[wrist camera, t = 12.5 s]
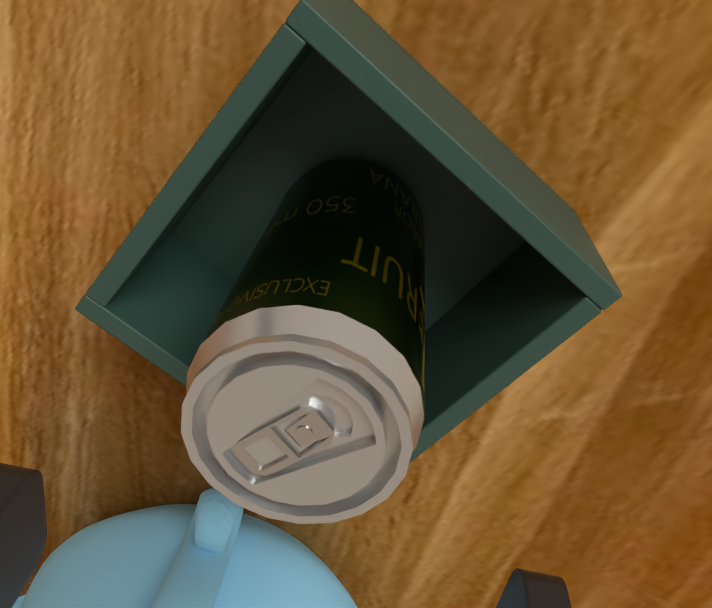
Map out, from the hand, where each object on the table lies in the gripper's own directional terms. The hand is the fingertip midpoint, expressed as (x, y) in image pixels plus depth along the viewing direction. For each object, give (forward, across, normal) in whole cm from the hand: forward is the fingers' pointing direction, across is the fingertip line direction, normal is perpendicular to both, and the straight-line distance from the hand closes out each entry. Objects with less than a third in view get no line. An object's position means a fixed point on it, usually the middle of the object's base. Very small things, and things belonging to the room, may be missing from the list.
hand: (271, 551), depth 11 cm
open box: (+15, 0, 0) cm, 16 cm away
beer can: (+15, 0, 0) cm, 15 cm away
